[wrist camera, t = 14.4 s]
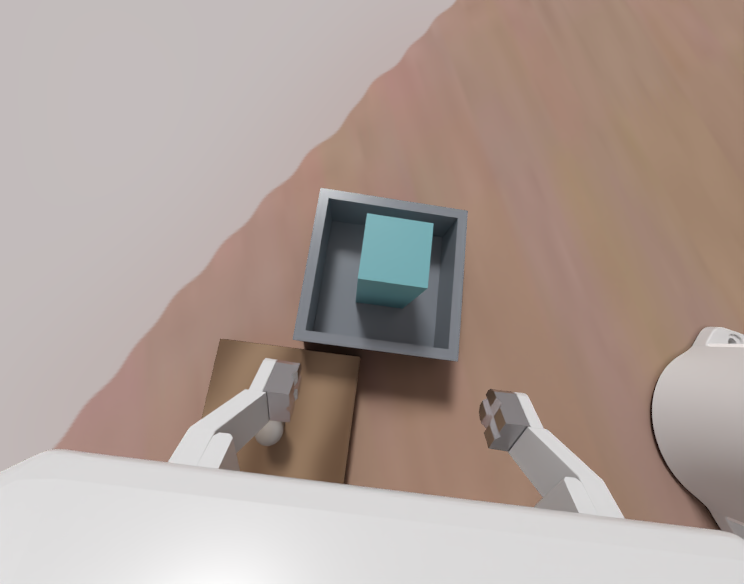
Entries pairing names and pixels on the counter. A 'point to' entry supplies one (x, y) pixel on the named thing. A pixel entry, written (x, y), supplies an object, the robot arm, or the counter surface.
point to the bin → (340, 276)
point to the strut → (394, 261)
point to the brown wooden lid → (310, 416)
